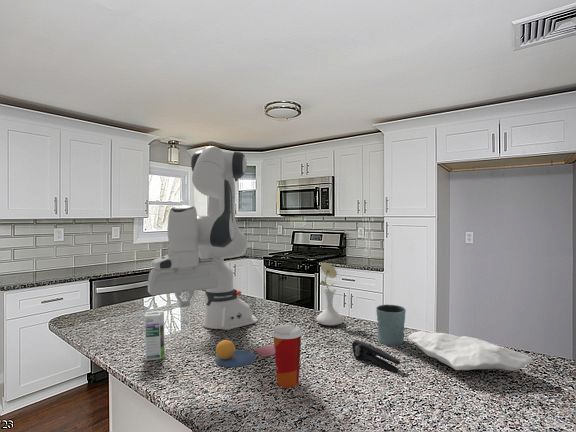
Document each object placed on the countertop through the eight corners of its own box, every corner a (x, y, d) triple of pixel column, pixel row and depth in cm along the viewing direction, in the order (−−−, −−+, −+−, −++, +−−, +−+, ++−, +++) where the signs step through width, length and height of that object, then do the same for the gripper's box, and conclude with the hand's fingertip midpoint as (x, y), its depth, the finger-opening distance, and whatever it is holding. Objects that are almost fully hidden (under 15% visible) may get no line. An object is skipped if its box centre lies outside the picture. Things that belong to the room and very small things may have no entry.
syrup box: (145, 361, 118) (144, 316, 118) (146, 354, 124) (145, 311, 123) (164, 359, 120) (163, 314, 119) (165, 352, 125) (164, 309, 125)
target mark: (246, 347, 129) (246, 347, 129) (262, 361, 117) (262, 360, 117) (209, 355, 122) (209, 355, 122) (223, 370, 111) (223, 369, 111)
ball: (221, 334, 122) (209, 347, 118) (233, 337, 118) (220, 351, 114) (229, 348, 124) (217, 361, 120) (241, 351, 120) (229, 365, 116)
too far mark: (274, 344, 131) (274, 344, 131) (285, 352, 124) (285, 351, 124) (253, 349, 127) (253, 348, 127) (263, 357, 120) (263, 356, 120)
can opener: (346, 357, 120) (346, 339, 120) (361, 352, 125) (361, 335, 124) (391, 377, 106) (390, 357, 106) (406, 370, 110) (406, 351, 110)
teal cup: (400, 336, 138) (400, 304, 138) (410, 346, 128) (410, 311, 128) (373, 337, 138) (372, 304, 138) (380, 347, 128) (380, 312, 127)
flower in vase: (349, 325, 151) (348, 264, 151) (324, 329, 147) (323, 266, 146) (333, 317, 163) (333, 260, 163) (310, 320, 159) (309, 261, 159)
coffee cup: (285, 373, 109) (285, 322, 108) (308, 381, 103) (308, 327, 103) (266, 384, 102) (265, 329, 102) (289, 393, 97) (288, 335, 96)
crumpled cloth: (524, 396, 91) (525, 357, 92) (389, 359, 114) (391, 328, 114) (536, 376, 109) (537, 345, 110) (417, 348, 132) (419, 322, 132)
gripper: (214, 256, 119) (214, 299, 119) (146, 261, 109) (147, 308, 109) (220, 258, 113) (221, 303, 114) (149, 264, 103) (150, 313, 104)
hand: (184, 306), depth 111 cm, fingers closed
